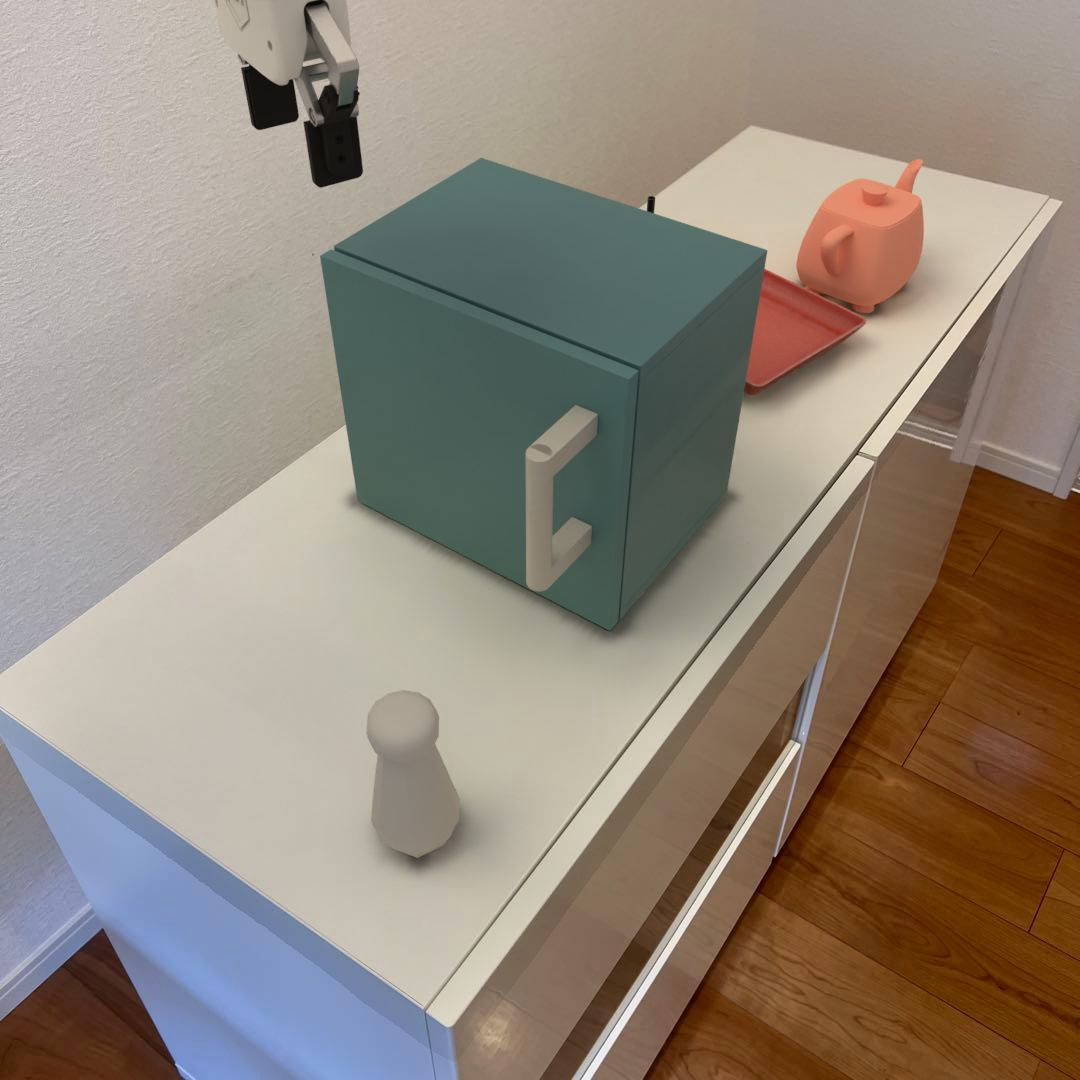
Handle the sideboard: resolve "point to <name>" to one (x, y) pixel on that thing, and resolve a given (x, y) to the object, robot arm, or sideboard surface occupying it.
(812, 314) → the plant saucer
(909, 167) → the teapot
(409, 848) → the salt shaker
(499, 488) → the fridge door
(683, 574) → the sideboard surface
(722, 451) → the box
